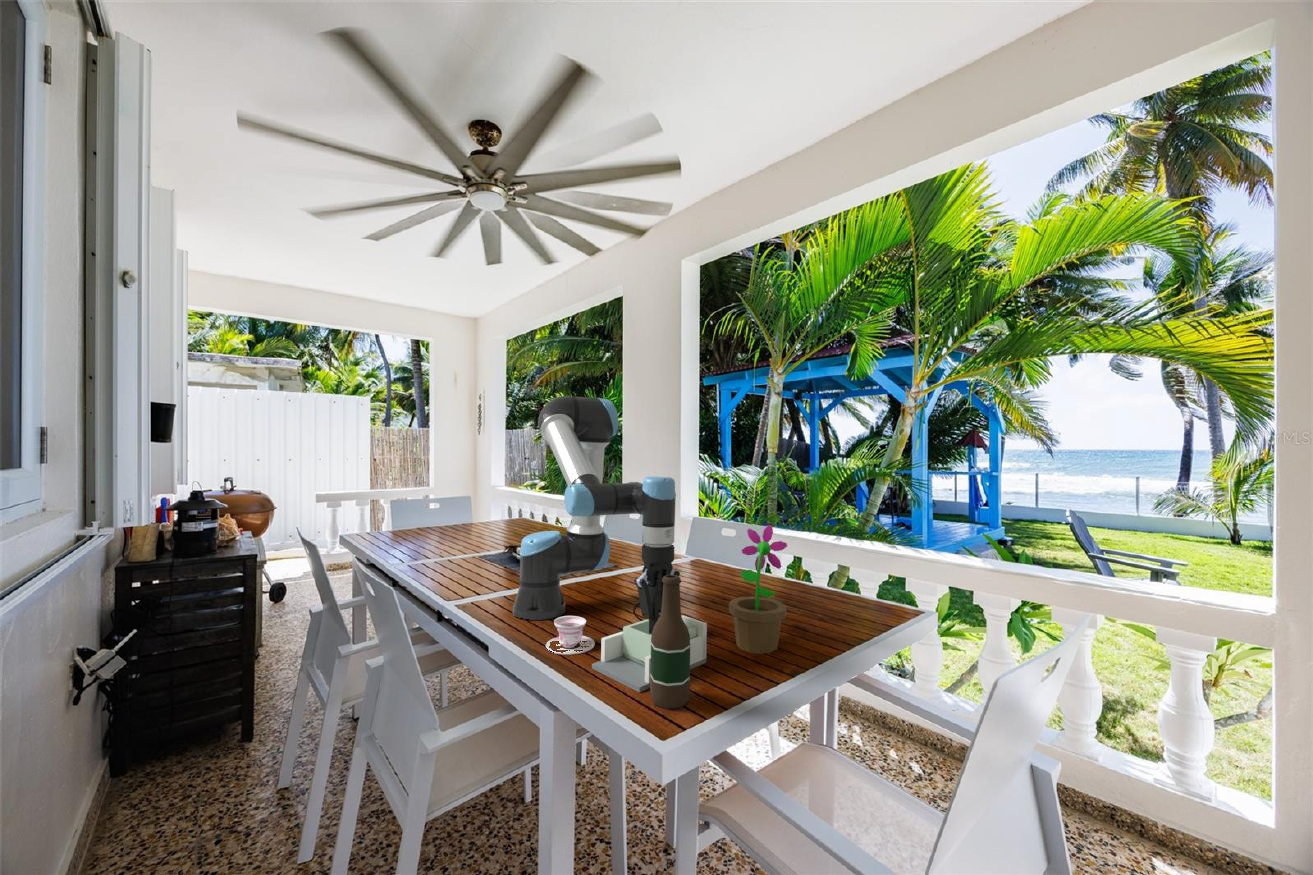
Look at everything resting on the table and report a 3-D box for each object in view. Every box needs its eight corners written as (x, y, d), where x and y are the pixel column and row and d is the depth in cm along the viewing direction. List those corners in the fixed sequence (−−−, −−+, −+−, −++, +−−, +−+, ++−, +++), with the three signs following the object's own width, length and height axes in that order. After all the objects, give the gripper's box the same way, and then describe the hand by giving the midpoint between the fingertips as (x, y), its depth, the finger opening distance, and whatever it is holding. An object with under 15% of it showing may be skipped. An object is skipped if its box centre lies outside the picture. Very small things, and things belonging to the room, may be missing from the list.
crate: (622, 655, 116) (623, 626, 116) (659, 642, 125) (659, 615, 125) (659, 672, 108) (660, 641, 108) (696, 656, 116) (696, 628, 116)
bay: (591, 668, 112) (592, 627, 112) (658, 643, 127) (659, 607, 127) (639, 692, 101) (640, 647, 101) (706, 662, 116) (706, 623, 116)
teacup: (536, 645, 125) (536, 620, 125) (575, 633, 133) (576, 610, 134) (564, 660, 117) (565, 633, 117) (604, 646, 125) (605, 621, 125)
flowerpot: (794, 643, 129) (795, 525, 130) (774, 662, 117) (775, 532, 118) (742, 631, 137) (743, 520, 138) (718, 648, 125) (720, 526, 126)
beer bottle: (646, 708, 95) (648, 580, 96) (653, 689, 103) (655, 570, 103) (687, 712, 94) (689, 582, 95) (691, 692, 102) (693, 572, 102)
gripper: (649, 550, 109) (647, 660, 108) (689, 543, 118) (687, 644, 118) (626, 545, 114) (624, 650, 114) (665, 538, 124) (664, 636, 123)
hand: (656, 647), depth 116 cm, fingers closed
